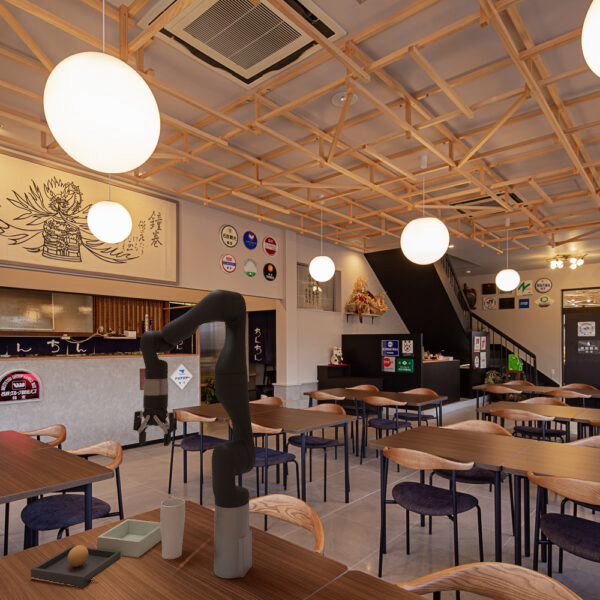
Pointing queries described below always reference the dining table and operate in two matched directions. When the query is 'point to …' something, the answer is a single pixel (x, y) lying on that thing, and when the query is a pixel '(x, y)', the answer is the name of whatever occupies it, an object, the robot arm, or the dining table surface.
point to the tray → (77, 576)
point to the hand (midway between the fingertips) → (154, 445)
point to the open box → (131, 537)
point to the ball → (77, 556)
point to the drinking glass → (172, 527)
